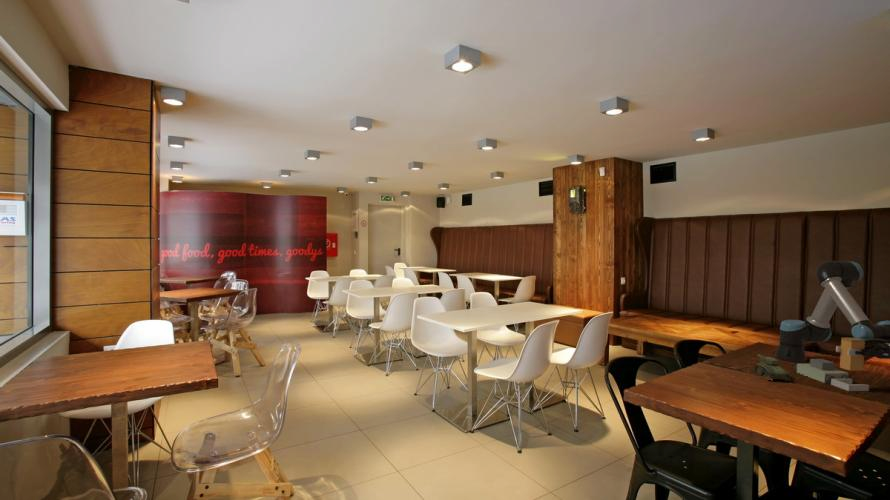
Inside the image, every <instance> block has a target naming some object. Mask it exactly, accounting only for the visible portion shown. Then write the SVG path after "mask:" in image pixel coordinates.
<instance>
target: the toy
mask: <svg viewBox="0 0 890 500" xmlns="http://www.w3.org/2000/svg"><path fill="white" fill-rule="evenodd" d="M756 357H758V358H760V362H757V363H756V364H757V365H755V367H754V374H755V375H756V374H757V375H756V376H758V375H761V376H765V377H768V378H772V379H778V380H777V381H782V380H784V381H790V382H791V379H792V378H791V376H790V373H789V372H788V371H786V369H784V368H783V367H782V366H780V365H779V359H776V358H774V357H772V356H771V357H770V356H763V355H761V354H757V355H756ZM784 381H783V382H784Z"/></svg>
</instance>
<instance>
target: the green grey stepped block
mask: <svg viewBox="0 0 890 500" xmlns="http://www.w3.org/2000/svg"><path fill="white" fill-rule="evenodd" d="M793 370H794V371H795V372H796V373H797V374H799V373H800V374H799V375H802V374H803V375H802V376H804V377H805V376H806V377H807V376H808V378H811V379H813V380H816V381H818V382H821V383H823V384H830V385H831V386H834V387H837V388H838V389H842V390H845V391H847V392H869V391H870V384H868V383H867V384H866V383H865V384H864V383H863V384H862V383H861V384H859V383H858V384H856V383H853V378H852V377H851V376H849V374H850V373H849V372H846V371H842V370H841V369H837V368H836V362H833V361H830V360H827V359H824V358H810V361H809V363H797V364H795V365H794V367H793Z"/></svg>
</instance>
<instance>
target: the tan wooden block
mask: <svg viewBox="0 0 890 500" xmlns="http://www.w3.org/2000/svg"><path fill="white" fill-rule="evenodd" d="M865 344H866V340H862V339H858V338H855V337H841V341H840V346H841V352H840V359H839V368H841V369H844V370H847V371H859V372H860V371H862V372H863V371H864V362H865V356H863V355H847V352H848V349H860V350H862V349H864V348H865V346H866V345H865Z"/></svg>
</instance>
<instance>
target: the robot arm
mask: <svg viewBox="0 0 890 500" xmlns="http://www.w3.org/2000/svg"><path fill="white" fill-rule="evenodd" d="M815 277H816V281H817V282H818V284H819V285H820V286H821V287H823V288H824V289H823V292H822V293H821V295H820V298H819V300H818V301H817V303H816V305H815V308H814V310H813V312H812V314H811V316H807V317H806V318H805V320H804V321H803V320H799V319H785V320H782V321H781V322H780V326H779V341H778V343H779V345H778V347H777V349H776V351H775V353H774V357H775V358H777V359H778V360H779V359H780V360H783V361H786V362H787V361H788V362H795V363H806V362H807V358H808V357H807V355H806V352H805V348H804V347H805V346H804V345H805V343H823V342H827V341H828V340H830V339H831V337H832V333H833V332H832V328H831V324H830V321H831V319H832V317H833V315H834V314H835V311H836V309H837V307H838V308H839V309H840V311H841V312H842V314H843V315H844V316H845V319H847V321H848V322H849V323H850V325H851V326H852V328H851V330H850V331H851V335H852V337H853V338H858V339H862V340H865V341H884V342H877V343H874V344H873V345H868V346H867V345H865V348H864V349H862V350H860V349H848V352H847V355H863V356H864V357H865V356H866V357H868V358H871V357H872V358H874V357H875V358H877V359H880V360H881V359H885V360H886V359H889V360H890V320H883V321H878V322H877V323H875V324H873V323H872V321H871V320H870V319H869V317H867V315H866V314H865V312H864V311H863V310H862V308H861V307H860V305H859V304H858V303H857V301H856V300H855V298H854V297H853V296H852V295H851V293H850V292H849V290H848V289H851V288H852V286H853V284H854V283H857V282H860V281H861V280H862V279H863V277H864V269H863V267H862V266H861V265H860V264H859V263H857V262H855V261H849V260H845V261H843V260H826V261H823V262H821V263H819V265H818V266H817V267H816V270H815ZM835 352H836V353H841V345H840V346H839V345H836V346H835Z"/></svg>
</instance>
